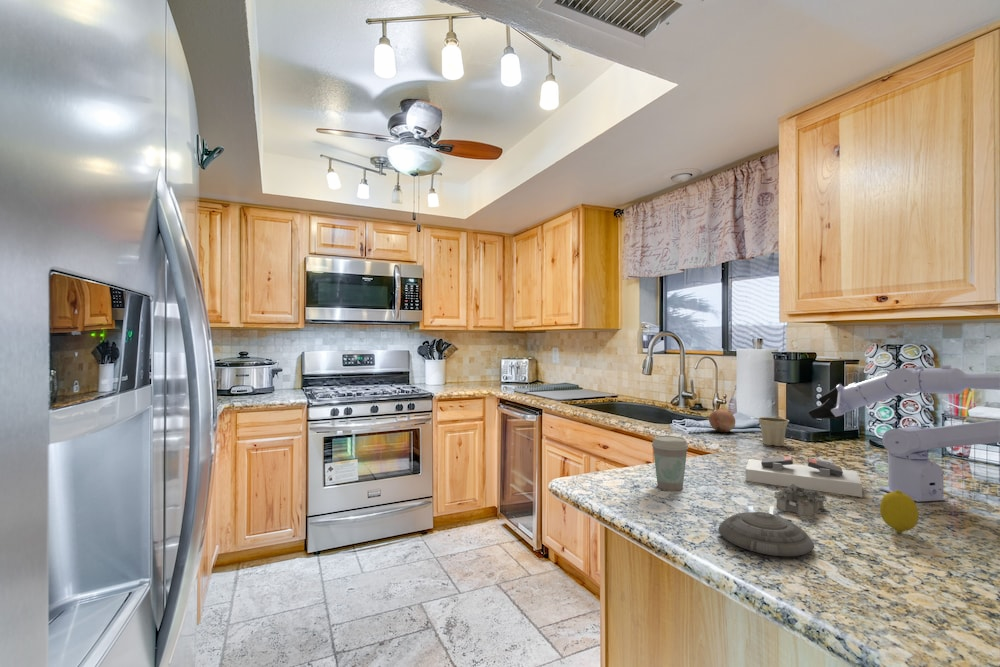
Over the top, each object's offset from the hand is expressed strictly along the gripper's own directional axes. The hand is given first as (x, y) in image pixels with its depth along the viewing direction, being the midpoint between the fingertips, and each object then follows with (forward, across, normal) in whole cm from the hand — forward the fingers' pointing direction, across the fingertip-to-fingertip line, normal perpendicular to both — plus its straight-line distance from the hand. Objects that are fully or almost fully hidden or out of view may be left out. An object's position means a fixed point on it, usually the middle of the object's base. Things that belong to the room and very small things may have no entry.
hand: (816, 408), depth 131 cm
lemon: (-22, +38, +14) cm, 46 cm away
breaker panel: (+3, +20, +10) cm, 22 cm away
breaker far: (+6, +20, +4) cm, 21 cm away
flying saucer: (-14, +61, -1) cm, 63 cm away
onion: (+53, -24, +7) cm, 58 cm away
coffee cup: (+14, +48, -9) cm, 50 cm away
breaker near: (-2, +17, +9) cm, 19 cm away
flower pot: (+32, -17, +14) cm, 39 cm away
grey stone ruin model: (-6, +38, +6) cm, 39 cm away
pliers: (+8, +1, +17) cm, 19 cm away
